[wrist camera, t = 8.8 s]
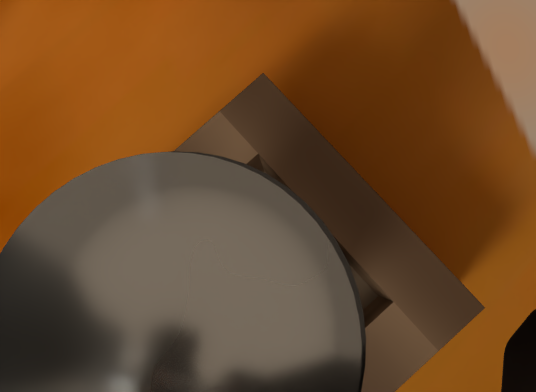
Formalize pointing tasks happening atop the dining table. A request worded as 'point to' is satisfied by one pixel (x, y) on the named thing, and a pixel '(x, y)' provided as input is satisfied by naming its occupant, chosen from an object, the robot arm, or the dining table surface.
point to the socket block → (349, 231)
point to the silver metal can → (177, 286)
